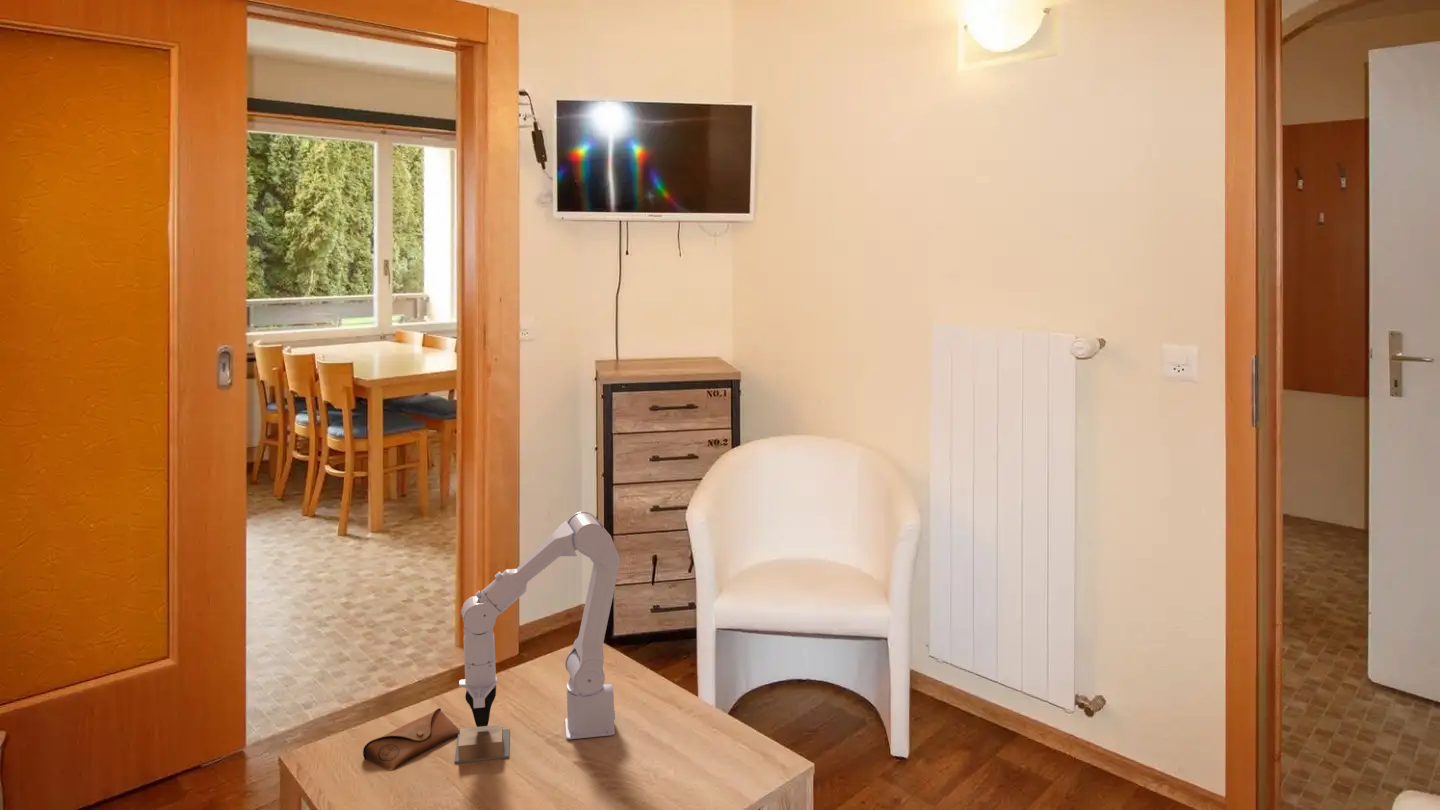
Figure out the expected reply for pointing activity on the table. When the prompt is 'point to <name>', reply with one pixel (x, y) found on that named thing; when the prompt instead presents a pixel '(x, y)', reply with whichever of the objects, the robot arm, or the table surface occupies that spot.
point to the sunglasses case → (410, 740)
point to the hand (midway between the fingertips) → (482, 724)
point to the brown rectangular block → (480, 742)
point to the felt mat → (504, 755)
